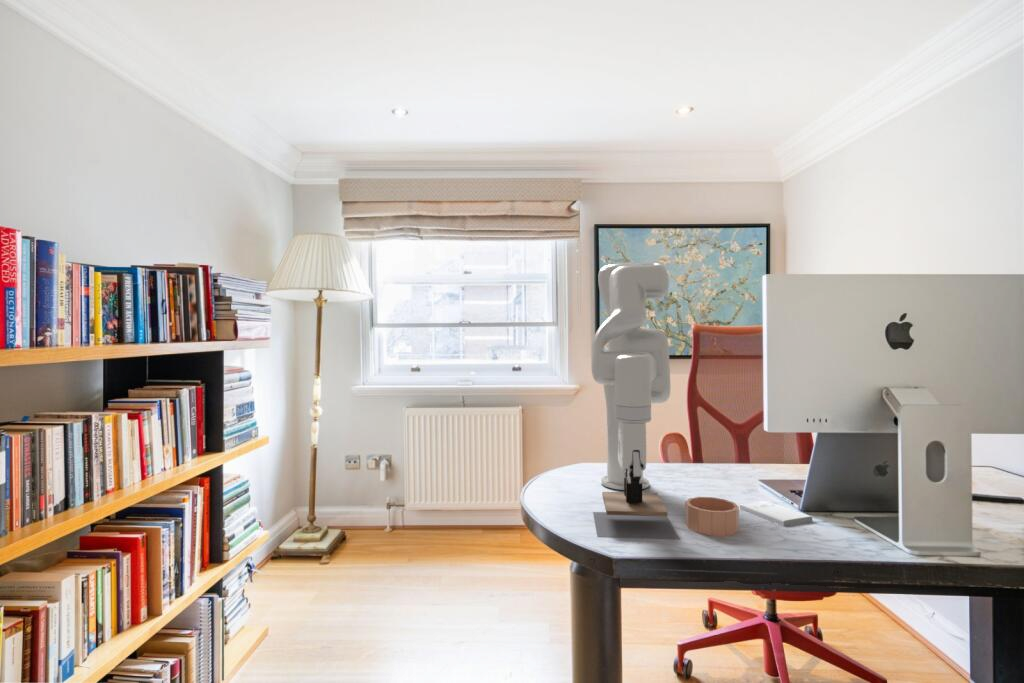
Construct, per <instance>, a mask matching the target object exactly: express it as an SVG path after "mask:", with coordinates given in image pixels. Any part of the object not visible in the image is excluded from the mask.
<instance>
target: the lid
mask: <svg viewBox="0 0 1024 683" xmlns="http://www.w3.org/2000/svg"><path fill="white" fill-rule="evenodd" d="M626 483H628V477H626ZM601 495H602V499H603V500H602V501H603V504H604V507H605V508H604V509H605V512H606V513H607V515H636V516H667V517H669V516H668V510H667V509H666V506H665V505H664V503H663V501H662V499H661V498H660V496H659V494H658V493H657V492H642V503H628V502H627V501H626V496H625V495H624V491H622V492H621V491H602V492H601Z"/></svg>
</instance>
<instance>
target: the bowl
mask: <svg viewBox="0 0 1024 683" xmlns="http://www.w3.org/2000/svg"><path fill="white" fill-rule="evenodd" d="M739 510H740V506H738V504H737V503H736V502H733V501H731V500H728V499H725V498H720V497H719V498H718V497H714V496H713V497H712V496H696V497H690V498H688V499H687V500H686V501H685V526H687V528H688V530H691V531H692V532H696V533H697V534H701V535H702V534H703V535H707V536H711V537H715V536H716V537H729V536H733V535H736V534H737V533H738V532H739V530H740V527H739V526H740V519H739V518H740V517H739V516H740V514H739V513H740V512H739Z"/></svg>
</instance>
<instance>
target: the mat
mask: <svg viewBox="0 0 1024 683" xmlns="http://www.w3.org/2000/svg"><path fill="white" fill-rule="evenodd" d="M592 515H593V520H594V524H595V529H596V535H597V536H596V537H597V538H612V539H613V538H616V539H617V538H619V539H621V538H622V539H648V540H649V539H650V540H651V539H653V540H655V539H657V540H681V538H680V536H679V533H677V532H676V530H675V528H674V526H673V524H672V522H671V521H670V519H669V516H636V515H607V513H606V511H605V512H604V511H603V512H601V511H596V512H595V511H593V512H592Z"/></svg>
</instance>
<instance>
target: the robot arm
mask: <svg viewBox="0 0 1024 683" xmlns="http://www.w3.org/2000/svg"><path fill="white" fill-rule="evenodd" d="M597 276H598V277H597V278H598V279H597V281H598V289H599V293H600V296H601V299H602V301H603V302H602V303H603V305H604V307H605V309H606V313H607V319H605V320H604V321H603V322H602V323H601V325H600V326H599V327H598V329H597V330H596V332H595V334H594V336H593V338H592V344H591V374H592V378H593V379H594V381H595V382H596V383H597V384H600V385H603V390H604V398H605V405H606V449H607V450H606V460H607V462H606V467H607V468H606V469H607V470H606V471H607V472H606V474H607V475H605V476H603V477H602V478H601V484H602V485H603V486H604V487H606V488H608V489H613V490H617V491H618V490H619V491H620V490H621V491H623V492H624V495H625V496H626V501H627V502H628V503H642V493H643V490H645V489H647V488H649V486H650V481H649V480H648V479H647V478H645V477H644V471H645V470H646V468H647V423H650V422H651V421H652V404H662V403H663V404H664V403H665V402H667V401H668V400H669V398H670V396H671V370H670V348H669V340H668V337H667V334H666V332H665V331H663V330H662V329H660V328H641V327H642V326H643V325H644V324H645V321H646V320H647V313H646V312H647V311H646V300H647V299H664V298H665V297H666V296H667V295H668V292H669V288H670V287H669V286H670V280H669V279H670V278H669V273H668V271H667V269H666V267H665V266H664V265H663V264H661V263H658V262H632V263H631V262H630V263H628V262H626V263H625V262H624V263H622V262H621V263H613V264H612V263H611V264H608V265H604V266H603V267H601V268H600V270H599V271H598V274H597ZM606 345H608V351H604V348H605V346H606ZM626 477H628V483H626Z"/></svg>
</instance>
